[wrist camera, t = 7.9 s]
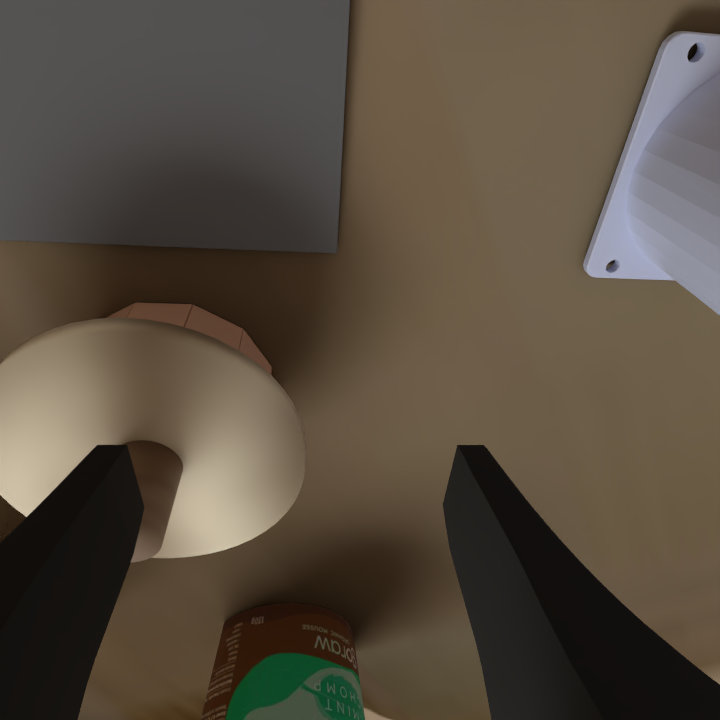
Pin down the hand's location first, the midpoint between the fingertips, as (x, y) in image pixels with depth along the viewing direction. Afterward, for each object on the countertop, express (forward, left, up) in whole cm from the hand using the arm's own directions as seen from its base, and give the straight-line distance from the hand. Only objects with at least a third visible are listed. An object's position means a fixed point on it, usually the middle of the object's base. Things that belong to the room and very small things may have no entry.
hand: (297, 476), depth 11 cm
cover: (+5, +5, -6) cm, 9 cm away
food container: (-1, +25, -10) cm, 27 cm away
